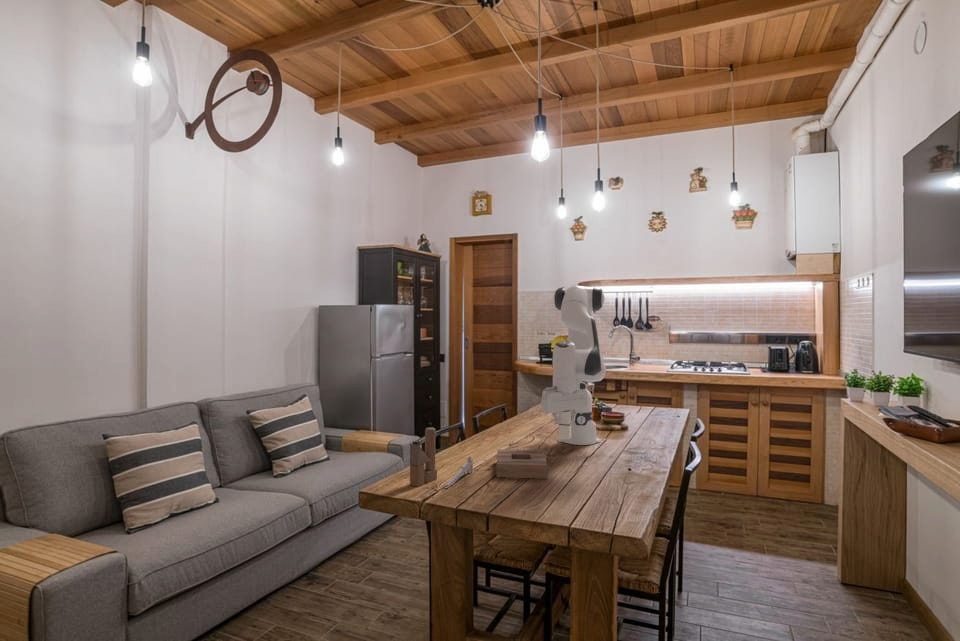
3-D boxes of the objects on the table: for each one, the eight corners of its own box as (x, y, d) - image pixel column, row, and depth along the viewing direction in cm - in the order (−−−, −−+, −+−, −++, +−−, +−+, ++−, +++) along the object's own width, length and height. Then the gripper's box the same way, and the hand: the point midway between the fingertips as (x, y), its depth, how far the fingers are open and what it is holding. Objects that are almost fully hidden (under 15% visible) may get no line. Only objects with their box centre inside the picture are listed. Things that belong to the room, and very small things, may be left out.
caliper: (470, 472, 188) (470, 455, 188) (472, 473, 188) (472, 456, 188) (444, 489, 169) (444, 470, 169) (447, 490, 169) (447, 471, 169)
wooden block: (409, 485, 173) (409, 432, 173) (429, 477, 182) (429, 426, 182) (418, 487, 171) (418, 433, 171) (437, 478, 180) (437, 427, 180)
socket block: (497, 461, 201) (497, 449, 201) (543, 462, 200) (543, 450, 200) (496, 478, 181) (496, 463, 181) (547, 479, 180) (547, 464, 180)
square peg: (560, 435, 192) (560, 409, 192) (571, 436, 191) (571, 410, 191) (558, 438, 189) (558, 411, 188) (569, 439, 187) (569, 412, 187)
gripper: (548, 388, 181) (548, 427, 182) (590, 384, 192) (590, 420, 192) (537, 386, 187) (537, 424, 187) (579, 382, 197) (579, 417, 198)
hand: (564, 422), depth 190 cm, fingers closed on square peg, 6 cm apart
